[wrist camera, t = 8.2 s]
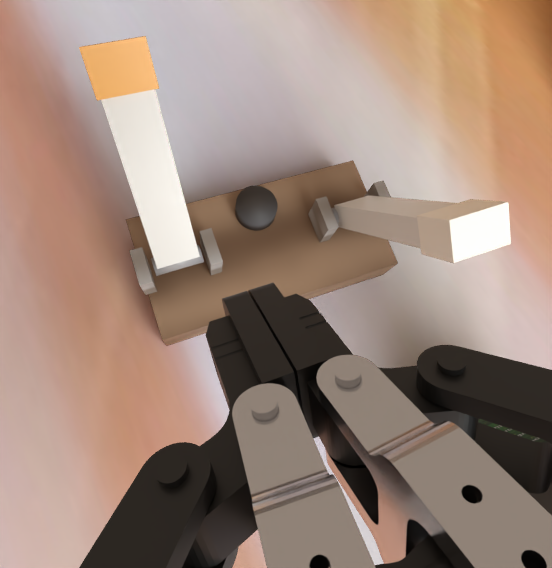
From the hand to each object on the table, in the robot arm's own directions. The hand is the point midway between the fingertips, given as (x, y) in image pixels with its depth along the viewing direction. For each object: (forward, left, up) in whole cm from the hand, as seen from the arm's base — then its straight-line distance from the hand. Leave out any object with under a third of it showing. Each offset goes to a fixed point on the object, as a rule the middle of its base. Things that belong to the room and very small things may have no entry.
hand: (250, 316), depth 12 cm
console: (-9, 0, -20) cm, 22 cm away
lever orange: (-6, -5, -16) cm, 18 cm away
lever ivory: (-13, +6, -16) cm, 21 cm away
